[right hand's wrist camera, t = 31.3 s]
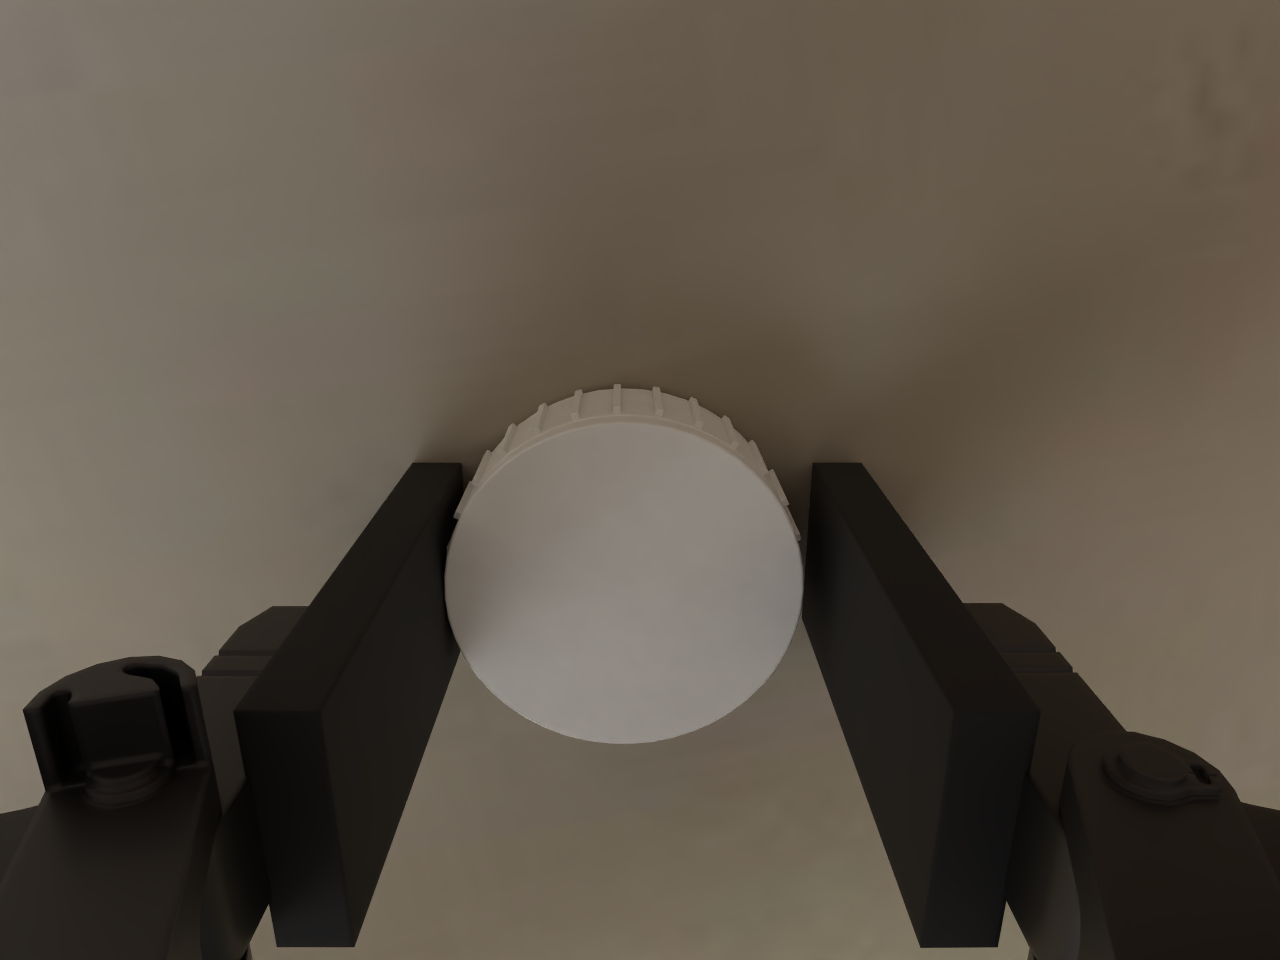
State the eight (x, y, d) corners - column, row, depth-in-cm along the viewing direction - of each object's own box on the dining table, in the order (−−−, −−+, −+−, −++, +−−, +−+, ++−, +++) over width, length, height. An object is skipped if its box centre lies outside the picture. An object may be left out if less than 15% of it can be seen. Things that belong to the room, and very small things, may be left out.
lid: (427, 409, 14) (398, 448, 12) (771, 358, 13) (792, 390, 12) (496, 700, 15) (481, 769, 14) (799, 658, 15) (822, 724, 13)
